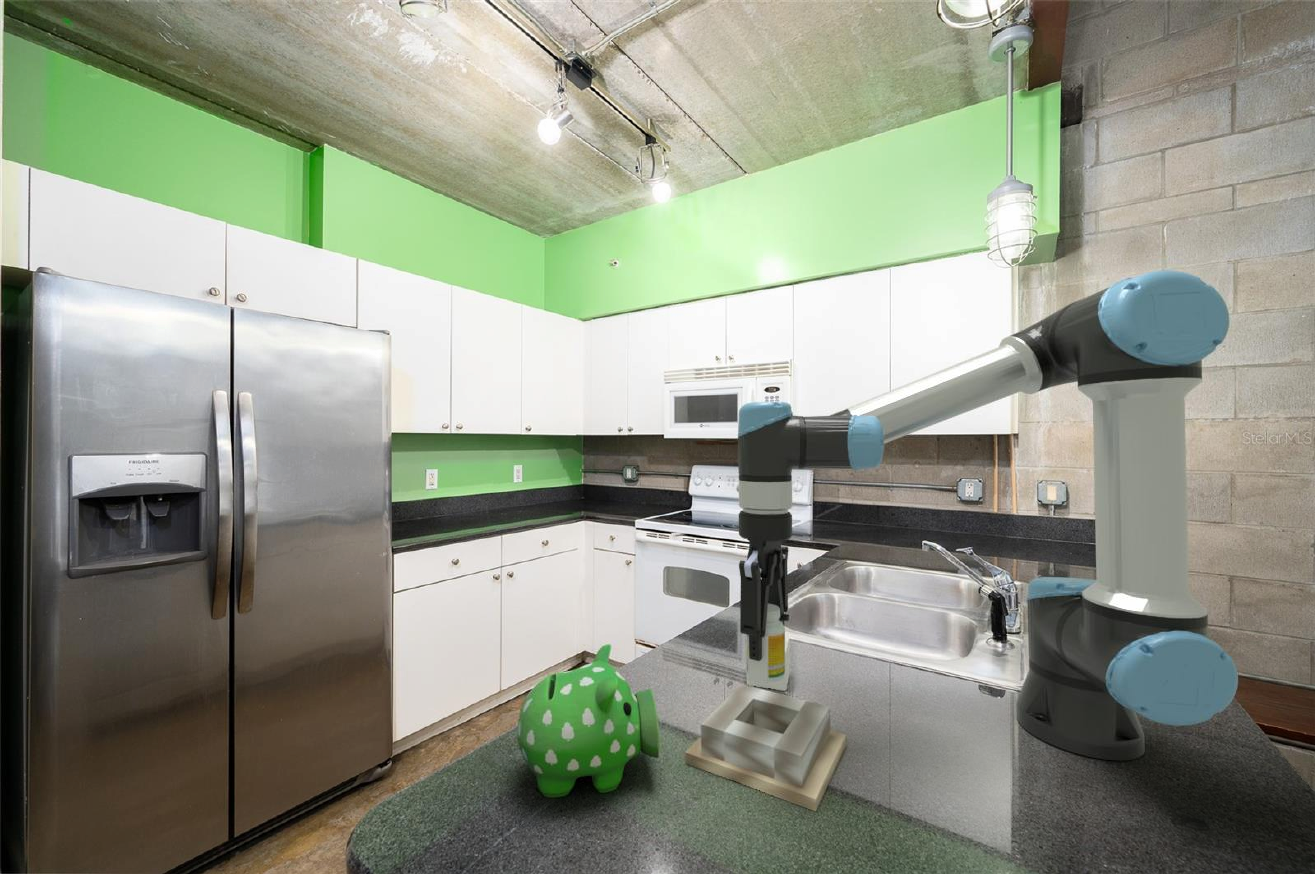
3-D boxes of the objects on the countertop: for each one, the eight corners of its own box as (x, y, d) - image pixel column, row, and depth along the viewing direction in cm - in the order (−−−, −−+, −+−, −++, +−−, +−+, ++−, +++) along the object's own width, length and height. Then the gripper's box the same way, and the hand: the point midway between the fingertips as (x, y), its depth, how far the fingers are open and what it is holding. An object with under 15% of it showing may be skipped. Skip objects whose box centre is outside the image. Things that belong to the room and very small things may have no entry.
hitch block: (846, 745, 76) (845, 707, 76) (815, 811, 62) (815, 765, 62) (732, 711, 85) (732, 678, 86) (685, 762, 72) (684, 723, 72)
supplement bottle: (738, 673, 74) (738, 606, 75) (763, 663, 78) (762, 599, 78) (768, 687, 70) (768, 616, 70) (793, 675, 74) (792, 607, 74)
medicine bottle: (789, 674, 99) (789, 611, 99) (786, 691, 92) (785, 624, 92) (752, 669, 101) (751, 608, 101) (746, 685, 95) (745, 620, 95)
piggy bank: (662, 803, 64) (661, 681, 64) (511, 820, 61) (510, 693, 61) (647, 738, 78) (646, 638, 78) (523, 750, 75) (523, 646, 76)
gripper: (763, 502, 84) (764, 645, 84) (713, 516, 69) (713, 692, 68) (809, 505, 80) (810, 655, 80) (767, 520, 64) (768, 707, 64)
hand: (766, 672), depth 74 cm, fingers closed on supplement bottle, 5 cm apart
